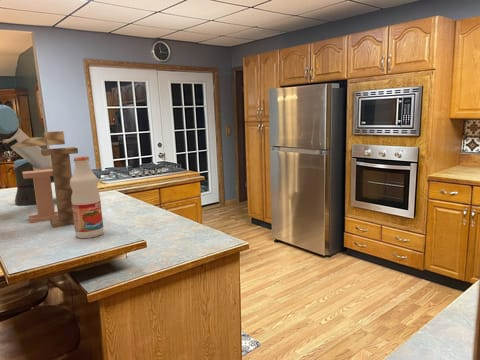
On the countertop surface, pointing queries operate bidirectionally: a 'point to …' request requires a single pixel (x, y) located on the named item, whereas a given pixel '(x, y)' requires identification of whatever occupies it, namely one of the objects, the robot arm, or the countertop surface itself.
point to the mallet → (43, 140)
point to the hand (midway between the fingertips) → (24, 135)
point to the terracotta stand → (42, 195)
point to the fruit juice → (85, 200)
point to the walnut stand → (62, 183)
